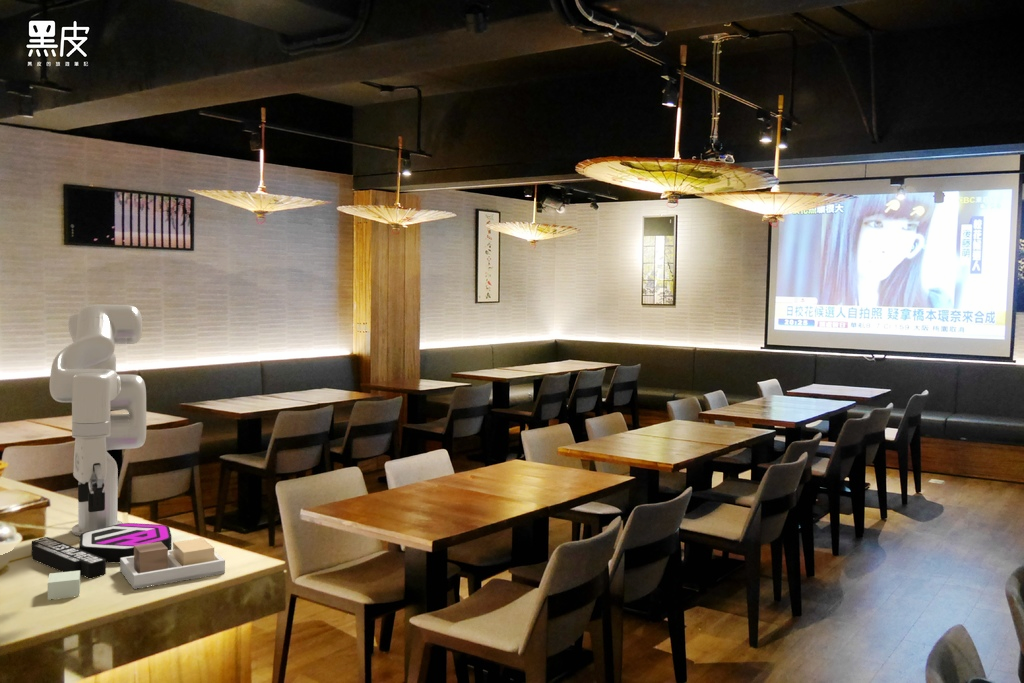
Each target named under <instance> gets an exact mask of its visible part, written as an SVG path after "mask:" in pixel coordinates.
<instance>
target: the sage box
mask: <svg viewBox="0 0 1024 683" xmlns="http://www.w3.org/2000/svg"><path fill="white" fill-rule="evenodd" d="M48 574H49V575H48V579H47V601H52V600H51V599H54V600H59V599H58V598H63V599H69V598H68V597H71V598H75V597H74V596H79V597H80V595H79V594H81V575H80V570H79V571H70V572H61V571H59V572H51V573H48Z"/></svg>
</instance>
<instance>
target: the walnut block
mask: <svg viewBox="0 0 1024 683" xmlns="http://www.w3.org/2000/svg"><path fill="white" fill-rule="evenodd" d="M134 569H135V570H136V572H137V573H144V572H150V571H156V570H162V569H168V548H167V547H166V546H165V545H164V544H163V543H162V542H154V543H148V544H141V545H134Z"/></svg>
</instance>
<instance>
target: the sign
mask: <svg viewBox="0 0 1024 683" xmlns="http://www.w3.org/2000/svg"><path fill="white" fill-rule="evenodd" d="M122 523H123V524H117V525H113V526H109V527H104V528H100V529H96V530H91V531H87V532H84V533H82V534H81V535H80V536H79V547H76V546H72V545H69V544H67V543H64V542H62V541H59V540H57V539H54V538H52V537H48V536H45V537H40V538H38V539H35V540H31V558H32V559H33V561H35V562H37V561H38V562H37V563H39V562H41V563H40V564H42V563H43V565H44V564H45V566H47V565H48V567H49V566H50V568H52V567H53V568H52V569H54V568H55V569H54V570H57V569H58V570H57V571H59V570H60V571H59V572H61V571H63V572H70V571H79V570H80V576H81V575H83V576H82V577H84V576H86V577H88V578H87V579H89V578H92V579H94V578H93V577H95V578H98V577H97V576H99V577H101V576H100V575H102V576H104V574H105V575H106V574H107V570H106V569H107V566H106V565H107V562H120V558H123V557H129V556H134V545H141V544H148V543H154V542H162V543H163V544H164V545H165V546H166V547H167V548H168V550H172V533H171V529H170V527H169V526H168V525H165V524H153V523H135V522H134V523H133V522H122ZM86 577H85V578H86Z"/></svg>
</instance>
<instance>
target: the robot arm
mask: <svg viewBox="0 0 1024 683" xmlns="http://www.w3.org/2000/svg"><path fill="white" fill-rule="evenodd" d="M67 325H68V331H69V335H70V338H71V340H72V341H73V342H72V343H71V344H68V345H67V346H66V347H65V348H63V349H61V350H60V352H58V353H57V355H56V356H55V357H54V359H53V361H52V364H51V368H50V369H51V370H50V375H49V376H50V377H49V393H50V396H51V398H52V399H53V400H55V401H56V402H59V403H71V438H74V440H75V441H74V449H73V450H74V451H73V453H74V454H73V467H72V468H73V471H72V472H73V473H72V475H73V478H75V479H76V480H77V481H78V483H77V502H78V505H77V506H78V507H77V508H78V515H77V516H78V518H77V519H78V520H77V521H78V522H77V524H75V525H73V526H72V528H71V533H72V534H73V535H75V536H78V535H79V536H78V537H80V535H81V534H82V533H84V532H87V531H91V530H96V529H100V528H104V527H109V526H113V525H117V524H123V523H124V522H123V521H120V520H118V491H119V489H118V486H119V485H118V481H119V480H118V478H119V477H118V473H119V472H118V471H119V470H118V464H117V461H116V460H115V458H113V456H111V454H110V453H109V452H108V451H112V450H129V449H131V450H132V449H138V448H141V447H143V446H144V444H145V442H146V439H147V389H146V387H147V386H146V383H145V380H144V379H143V378H142V377H141V376H140V375H139V374H138V375H137V374H133V373H132V374H129V373H128V374H125V373H124V374H118V373H117V357H116V354H115V348H116V346H115V345H135V344H137V343H139V342H140V340H141V338H142V335H143V326H144V325H143V317H142V314H141V311H140V310H139V309H138V308H137V307H136V306H134V305H130V304H107V303H105V304H103V303H102V304H101V303H99V304H89V305H86V306H85V307H83V308H82V309H81V310H80V311H79V312H75V313H73V314H71V316H70V317H69V318H68V324H67ZM111 410H125V411H127V412H128V413H121V414H120V413H118V414H111Z"/></svg>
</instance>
